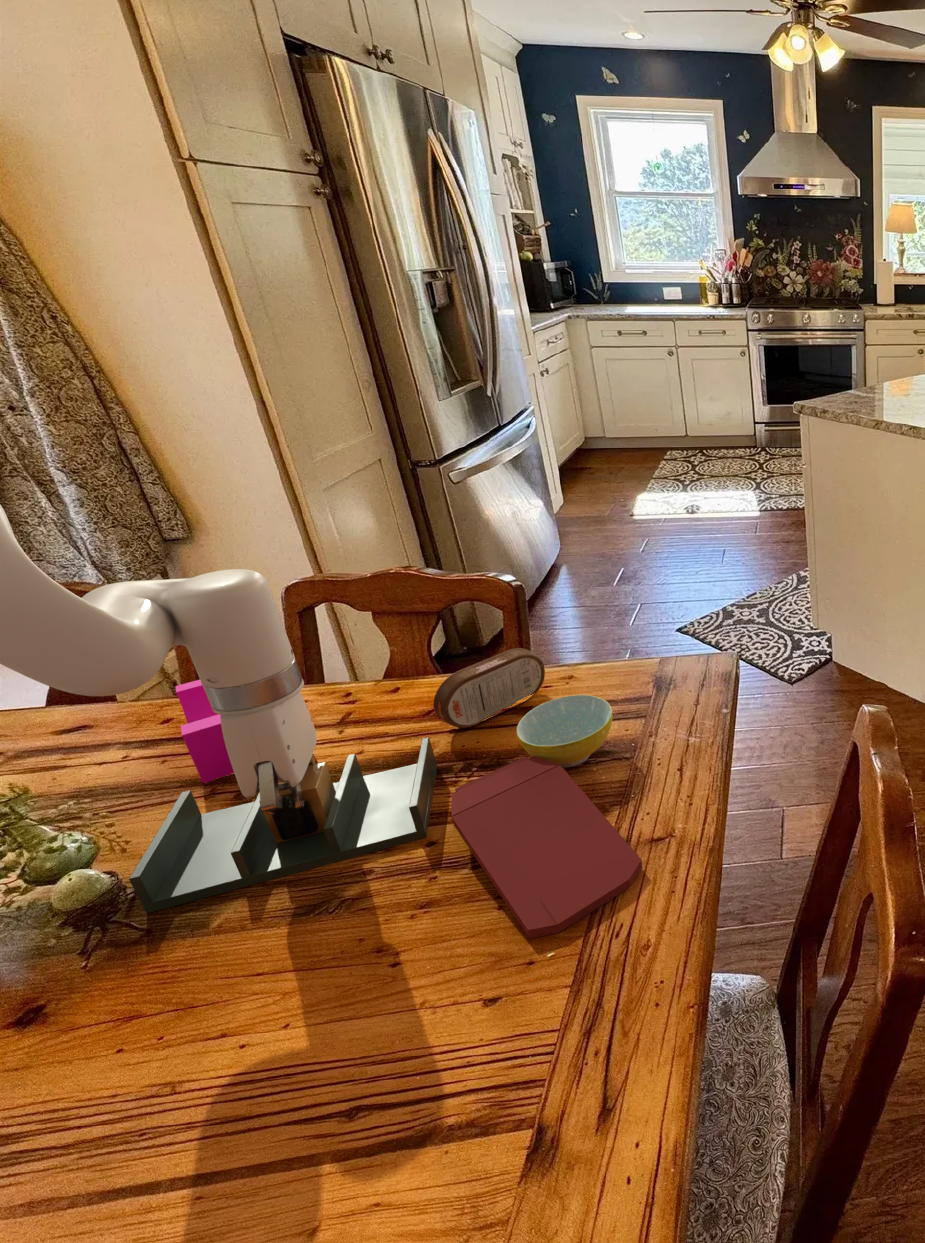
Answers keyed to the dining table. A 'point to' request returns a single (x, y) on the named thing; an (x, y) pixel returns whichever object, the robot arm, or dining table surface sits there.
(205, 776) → the toy block
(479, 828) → the carton
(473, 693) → the tin
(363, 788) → the rack
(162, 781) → the dining table surface
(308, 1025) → the dining table surface
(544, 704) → the bowl
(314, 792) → the package
